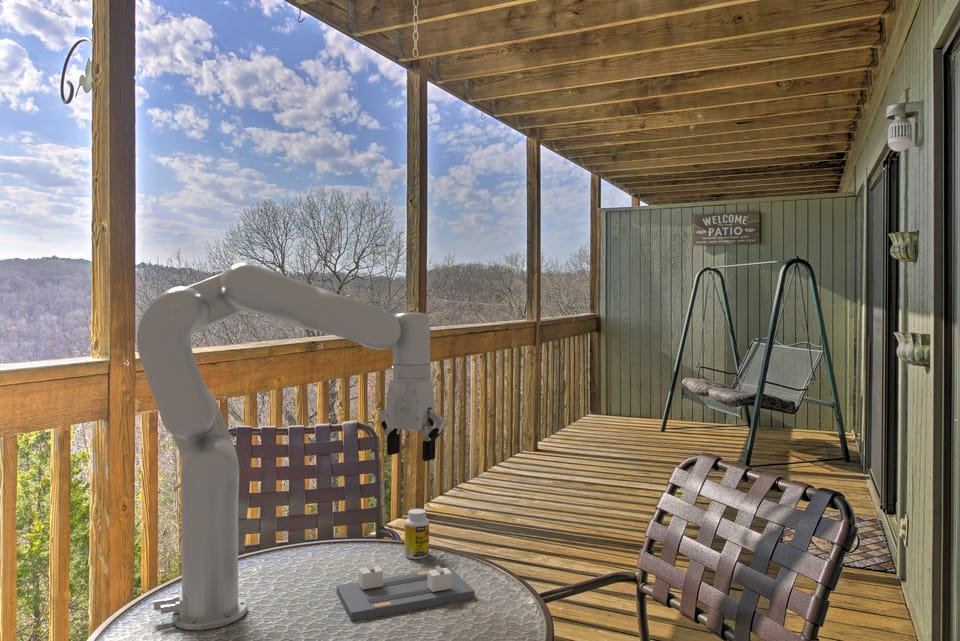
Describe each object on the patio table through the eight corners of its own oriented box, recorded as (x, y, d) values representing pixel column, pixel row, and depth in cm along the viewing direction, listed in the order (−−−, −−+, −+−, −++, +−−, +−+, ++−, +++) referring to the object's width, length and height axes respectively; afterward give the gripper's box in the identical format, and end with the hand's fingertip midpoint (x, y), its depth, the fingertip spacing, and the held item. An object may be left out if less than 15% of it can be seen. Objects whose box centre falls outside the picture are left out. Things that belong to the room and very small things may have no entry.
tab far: (362, 589, 126) (362, 570, 126) (358, 583, 129) (358, 565, 129) (382, 586, 128) (382, 567, 128) (378, 580, 131) (378, 562, 131)
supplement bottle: (414, 562, 146) (414, 516, 146) (399, 555, 150) (399, 510, 150) (434, 555, 150) (434, 511, 150) (418, 549, 154) (418, 506, 154)
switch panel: (351, 621, 117) (351, 612, 117) (336, 593, 129) (336, 585, 129) (474, 598, 127) (474, 590, 127) (450, 574, 139) (450, 567, 139)
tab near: (432, 591, 125) (432, 573, 125) (427, 586, 128) (427, 567, 128) (451, 588, 127) (451, 569, 127) (446, 582, 130) (446, 564, 130)
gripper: (368, 372, 136) (367, 454, 136) (431, 376, 126) (431, 465, 126) (393, 370, 142) (392, 449, 142) (455, 374, 132) (455, 459, 132)
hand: (410, 456), depth 134 cm, fingers open, 9 cm apart
